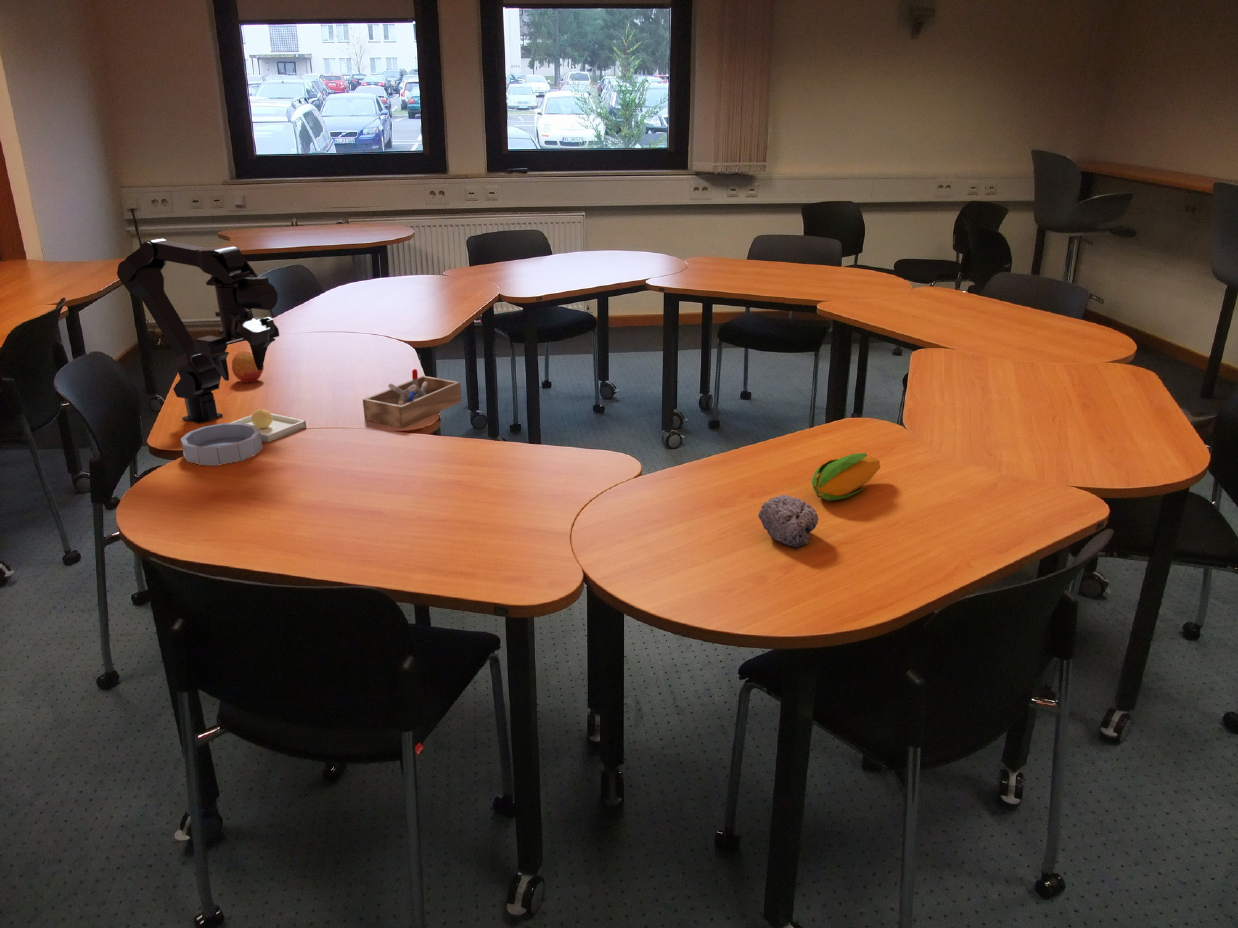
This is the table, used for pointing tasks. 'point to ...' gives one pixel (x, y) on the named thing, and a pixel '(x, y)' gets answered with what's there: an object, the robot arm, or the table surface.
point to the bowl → (221, 443)
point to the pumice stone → (788, 520)
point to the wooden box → (412, 402)
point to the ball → (261, 418)
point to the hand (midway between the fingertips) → (243, 375)
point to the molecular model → (410, 390)
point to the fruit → (245, 367)
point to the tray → (276, 426)
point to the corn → (844, 476)
